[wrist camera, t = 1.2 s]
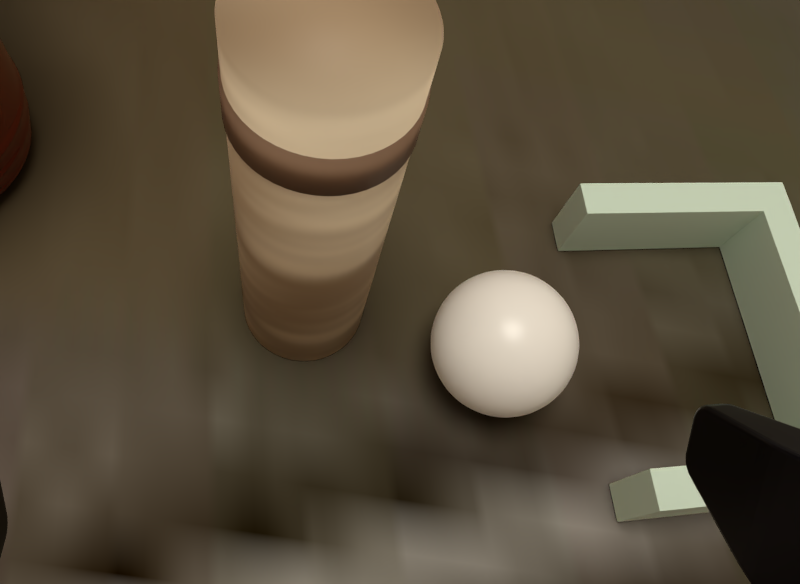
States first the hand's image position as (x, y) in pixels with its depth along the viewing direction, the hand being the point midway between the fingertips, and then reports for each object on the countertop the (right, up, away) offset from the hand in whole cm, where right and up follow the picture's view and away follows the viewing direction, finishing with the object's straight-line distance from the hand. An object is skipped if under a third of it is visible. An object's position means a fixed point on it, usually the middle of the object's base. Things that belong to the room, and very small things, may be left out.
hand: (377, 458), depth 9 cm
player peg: (-3, +2, +15) cm, 15 cm away
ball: (+4, 0, +13) cm, 14 cm away
